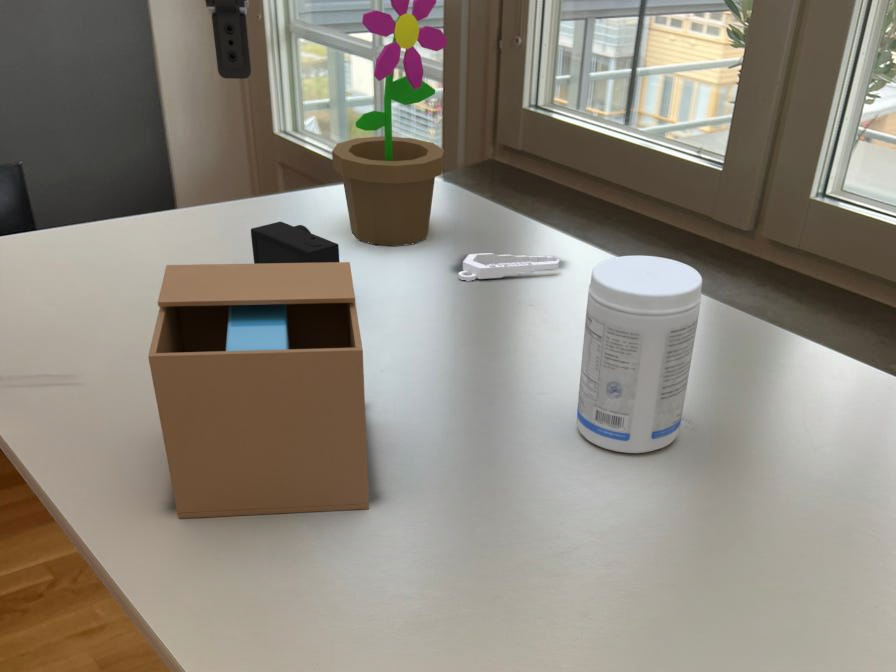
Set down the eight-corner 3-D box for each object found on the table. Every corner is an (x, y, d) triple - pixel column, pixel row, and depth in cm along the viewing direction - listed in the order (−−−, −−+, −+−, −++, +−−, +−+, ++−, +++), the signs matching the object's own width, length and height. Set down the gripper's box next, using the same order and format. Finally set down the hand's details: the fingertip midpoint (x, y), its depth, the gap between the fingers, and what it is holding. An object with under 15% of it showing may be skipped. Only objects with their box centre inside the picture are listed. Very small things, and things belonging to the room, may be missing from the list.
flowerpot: (379, 259, 125) (371, -26, 106) (315, 228, 133) (297, -42, 114) (465, 237, 132) (472, -32, 113) (400, 210, 140) (396, -46, 121)
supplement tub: (657, 405, 96) (683, 251, 87) (693, 453, 89) (725, 291, 80) (561, 411, 95) (577, 255, 85) (590, 461, 88) (610, 296, 78)
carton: (178, 518, 78) (147, 356, 69) (191, 423, 90) (167, 274, 81) (369, 509, 80) (362, 349, 72) (357, 416, 92) (350, 271, 84)
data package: (300, 493, 81) (287, 353, 73) (243, 496, 80) (224, 355, 72) (296, 424, 90) (285, 292, 82) (245, 426, 89) (229, 293, 81)
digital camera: (351, 303, 113) (348, 241, 109) (313, 315, 110) (309, 251, 106) (294, 278, 119) (288, 218, 114) (256, 289, 115) (250, 227, 111)
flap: (158, 307, 75) (157, 301, 75) (167, 269, 81) (166, 264, 81) (355, 302, 77) (355, 297, 77) (349, 266, 83) (349, 261, 83)
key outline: (549, 261, 126) (550, 247, 125) (562, 275, 123) (563, 261, 122) (450, 267, 123) (450, 253, 122) (460, 282, 120) (461, 267, 119)
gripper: (144, -260, 62) (186, 57, 73) (118, -273, 52) (171, 97, 63) (266, -253, 63) (289, 58, 74) (264, -264, 53) (291, 98, 64)
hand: (235, 76), depth 68 cm, fingers closed
